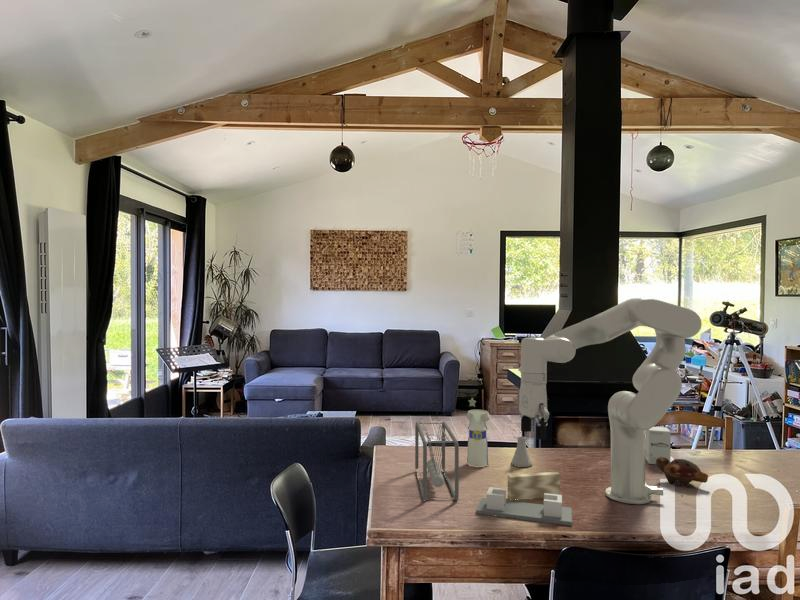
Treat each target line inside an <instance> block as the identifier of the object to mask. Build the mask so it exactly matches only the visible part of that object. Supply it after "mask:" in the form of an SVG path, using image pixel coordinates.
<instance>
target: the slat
mask: <svg viewBox="0 0 800 600" xmlns="http://www.w3.org/2000/svg"><path fill="white" fill-rule="evenodd" d="M544 493H549V494H558V495H561V473H559V472H557V471H548V472H532V473H516V474H508V475H507V499H508V498H510V499H511V500H515V499H516V501H518V500H517V499H529V500H532V499H531V498H541V499H544ZM511 500H510V501H511Z"/></svg>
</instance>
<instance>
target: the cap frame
mask: <svg viewBox="0 0 800 600" xmlns="http://www.w3.org/2000/svg"><path fill="white" fill-rule="evenodd" d="M476 513H477V514H476V515H481V514H486V515H485V516H489V515H496V516H495V517H497V516H503V517H502V518H505V517H510V518H509V519H513V518H516V519H515V520H521V521H522V520H523V521H528V522H529V521H530V522H538V523H547V524H555V525H563V526H570V527H572V526H573V514H572V513H573V512H572V507H567V506H563V495H562V494H560V495H558V494H549V493H544V498H543V504H542V503H540V504H539V503H529V502H523V501H511V500H507V489H506V488H500V487H491V486H489V488H488V490H487V492H486V497H481V499H480V501H479V504H478V506H477V508H476Z"/></svg>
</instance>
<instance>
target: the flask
mask: <svg viewBox="0 0 800 600" xmlns="http://www.w3.org/2000/svg"><path fill="white" fill-rule="evenodd" d="M516 439H517V443H516V449H515V452H514V454H513V457H512V459H511V462H510V463H512V464H513V465H516V466H515V467H517V466H519V467H518V468H529V466H530V467H532V466H533V463H532V460H531V458H530V455H529V453H528V450H527V446H526V445H527V444H526V440H527V438H526V436H516ZM512 464H511V465H512ZM513 465H512V466H513ZM531 465H532V466H531Z"/></svg>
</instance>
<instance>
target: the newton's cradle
mask: <svg viewBox="0 0 800 600" xmlns="http://www.w3.org/2000/svg"><path fill="white" fill-rule="evenodd" d="M414 424H415V425H414V426H415V429H414V430H415V431H414V436H415V438H414V439H415V440H414V443H415V445H414V447H415V449H414V451H415V452H414V456H415V457H414V460H415V462H414V468H415V469H418V468H419V436H420V439H421V442H422V471H423V472H422V479H421V480H420V478H421V477H420V478H419V483H418V485H419V484H420V487H419V490H420V489H421V491H420V495H421V494H422V495H421V499H422V498H423V499H422V501H423V500H426V501H427V500H428V499H427V498H428V476H427V475H428V473H429V477H430V480H431V484H432V485H433V486H434V487H436V488H441V487H442V486H443V485H444V484H445V480H446V479H447V481H446V483H447V482H448V484H449V486H448V488H449V487H450V488H449V491H450V490H451V491H450V492H452V493H451V495H453V496H452V498H453V497H454V499H455V500H457V501H458V500H459V497H460V496H459V493H460V491H459V490H460V489H459V486H460V485H459V482H460V481H459V480H460V479H459V474H460V473H459V471H460V469H459V467H460V466H459V463H460V461H459V459H460V457H459V456H460V455H459V453H460V452H459V450H460V448H459V441H458V440H457V438H456V436H455V435H454V433H453V432H452V430H451V428H450V427H449V426H448V424H447V422H446V421H442V422H419V421H416V422H415V423H414ZM434 424H435V425H436V426H434ZM421 425H422V426H423V429H424V431H425V434H426V437H425V434H424V432H423V430H422V428H421V427H422V426H421ZM426 425H430V426H429V427H430V428H431V427H433V428H434V427H435V428H436V427H437V428H438V431H437V435H441V436H437V437H436V441H434V440H431V439H432V438H431V437H430V434H429V431H428V429H427V426H426ZM431 425H433V426H431ZM437 425H439V426H437ZM446 432H447V433H448V435H449V437H450V438H451V440H452V441H451V440H450V439H449V437H448V435H447V433H446ZM434 443H435V445H439V446H441V447H439V446H435V448H434V450H436V451H433V444H434ZM446 443H447V444H448V443H449V444H451V443H453V445H454V486H453V484H452V482H451V479H450V477H449V475H448V473H447V471H445V470H446ZM428 451H429V455H430V459H429V460H428ZM438 451H440V452H441V453H440V452H438ZM435 453H436V454H435ZM435 456H439V457H441V458H439V457H435ZM440 464H441V465H440ZM442 469H443V471H444V473H445V476H446V479H445V477H444V475H443V472H441V471H442ZM427 471H429V472H427ZM448 477H449V478H448ZM421 481H422V482H421ZM448 484H447V485H448ZM422 485H423V486H422ZM454 499H453V500H454ZM455 500H454V501H455Z"/></svg>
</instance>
